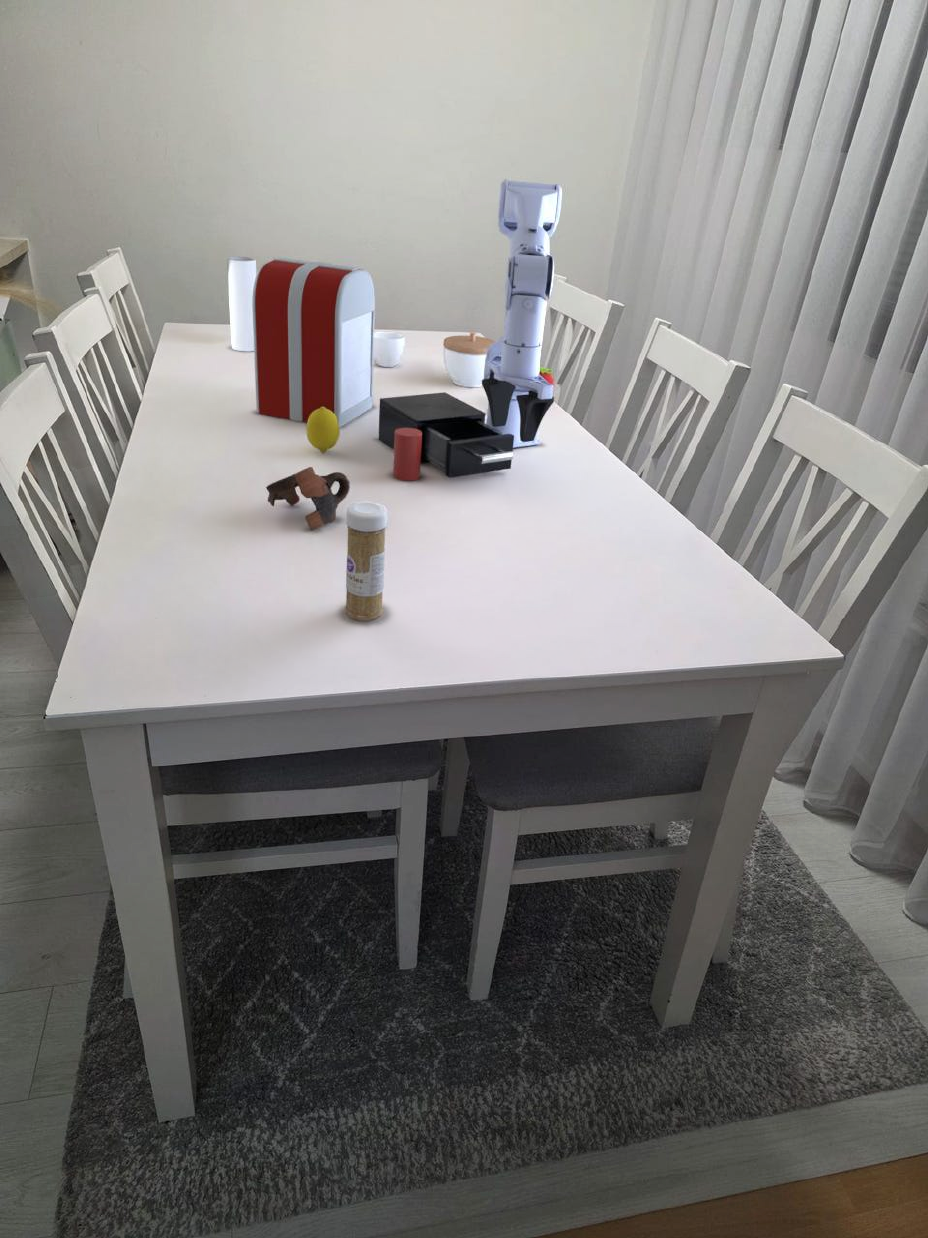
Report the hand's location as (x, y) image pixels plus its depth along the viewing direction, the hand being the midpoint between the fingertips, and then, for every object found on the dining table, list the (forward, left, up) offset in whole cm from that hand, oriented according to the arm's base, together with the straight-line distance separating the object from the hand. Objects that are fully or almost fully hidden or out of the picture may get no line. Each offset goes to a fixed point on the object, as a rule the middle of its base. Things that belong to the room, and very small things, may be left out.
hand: (512, 433), depth 136 cm
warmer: (-1, -25, -10) cm, 27 cm away
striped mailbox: (+9, -52, -11) cm, 54 cm away
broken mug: (+31, -5, -11) cm, 34 cm away
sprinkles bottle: (+37, +24, -11) cm, 46 cm away
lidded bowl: (-32, -60, -11) cm, 68 cm away
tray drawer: (0, -12, -10) cm, 16 cm away
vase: (+2, -102, -11) cm, 102 cm away
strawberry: (-35, -39, -11) cm, 54 cm away
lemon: (+18, -29, -11) cm, 36 cm away
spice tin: (+10, -14, -10) cm, 20 cm away
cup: (-21, -79, -7) cm, 82 cm away
